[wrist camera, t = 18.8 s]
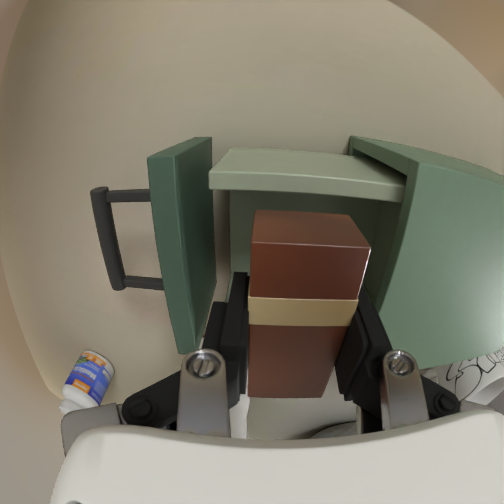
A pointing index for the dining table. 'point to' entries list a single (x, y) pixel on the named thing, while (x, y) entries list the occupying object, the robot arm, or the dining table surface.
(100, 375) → the pill bottle
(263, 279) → the brown banded block
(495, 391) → the mug
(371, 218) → the drawer
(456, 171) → the cabinet
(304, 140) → the dining table surface
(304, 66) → the dining table surface
